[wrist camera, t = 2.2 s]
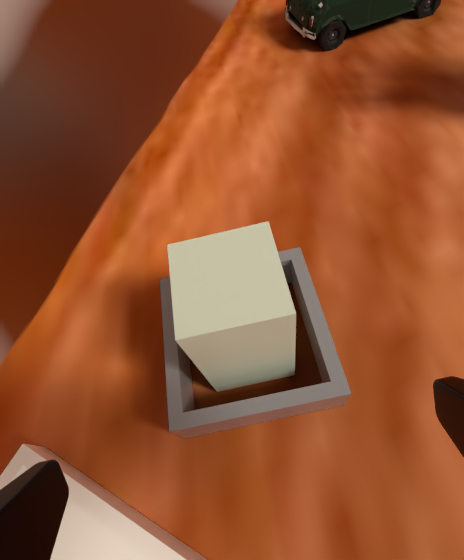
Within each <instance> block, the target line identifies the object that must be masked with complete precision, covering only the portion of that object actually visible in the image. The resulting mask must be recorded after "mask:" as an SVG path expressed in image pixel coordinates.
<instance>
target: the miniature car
mask: <svg viewBox="0 0 464 560" xmlns="http://www.w3.org/2000/svg"><path fill="white" fill-rule="evenodd" d="M440 3H441V0H286V5H287V6H288V7H287V9H288V12H287V9H286V8H285V15H286V20H287V22H288V23H290V24H291V25H292V26H293V28H294V29H296V30H297V31H298V32H299V33H301V34H302V36H303V37H304V38H305V36H306V37H308V38H310V39H313V40H315V38H316V37H318V40H319V45H320V46H321V47H322V48H323V49H324V50H327V51H330V50H333V49H336V48H337V47H338V46H340V45H341V44H342V43H343V39H344V36H345V32H346V29H347V28H346V27H345V25H347V26H348V27H349V29H350V30H355V29H358V28H361V27H364V26H367V25H370V24H373V23H376V22H379V21H382V20H385V19H388V18H391V17H394V16H397V15H400V14H403V13H406V12H409V11H412V12H413V13H414V14H415V15H417V16H418V17H420V18H424V17H427V16H430V15H433V13H434V12H435V11H436V9H437V8H438V6H439V5H440ZM344 24H345V25H344ZM300 28H301V29H302V30H301V29H300Z"/></svg>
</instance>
